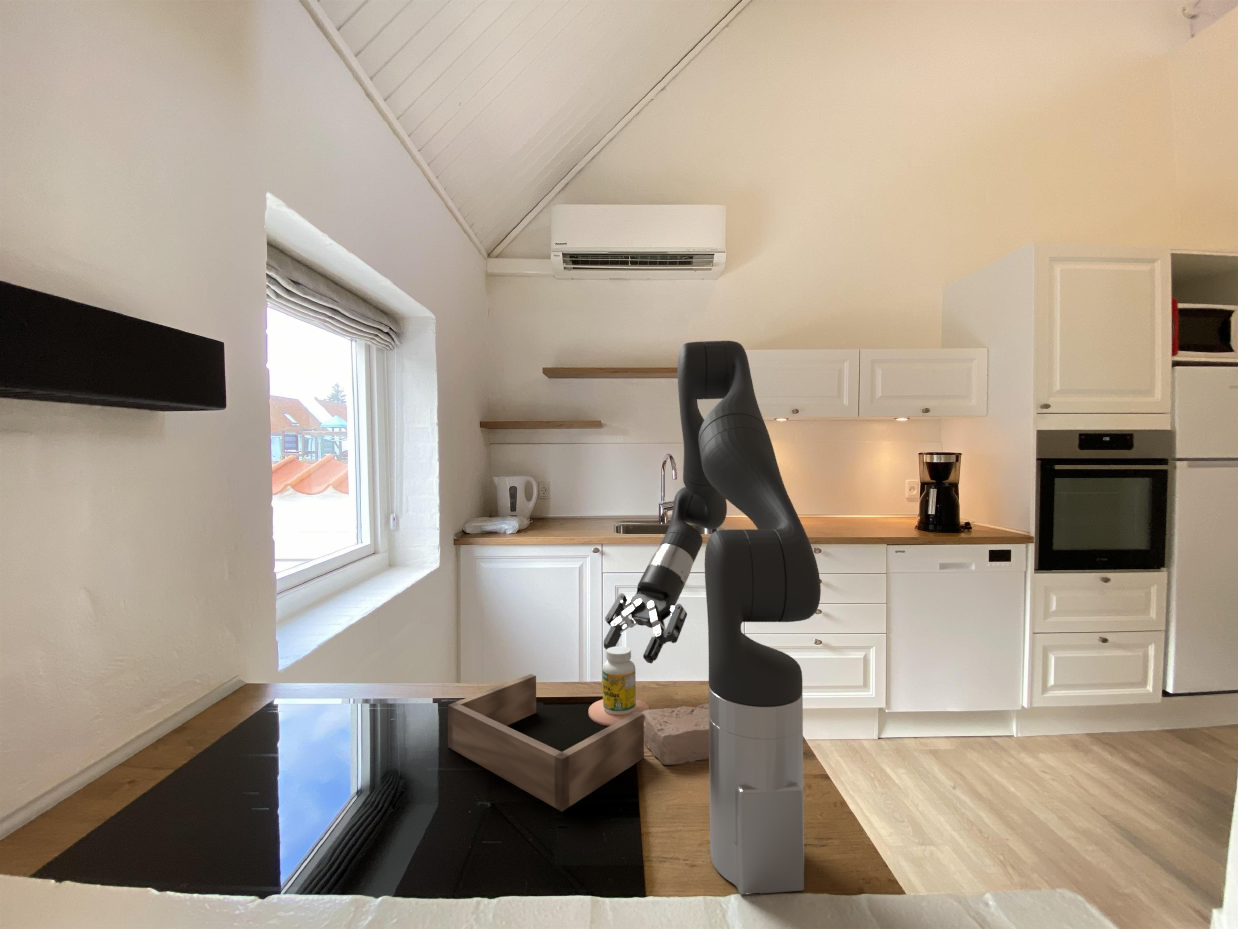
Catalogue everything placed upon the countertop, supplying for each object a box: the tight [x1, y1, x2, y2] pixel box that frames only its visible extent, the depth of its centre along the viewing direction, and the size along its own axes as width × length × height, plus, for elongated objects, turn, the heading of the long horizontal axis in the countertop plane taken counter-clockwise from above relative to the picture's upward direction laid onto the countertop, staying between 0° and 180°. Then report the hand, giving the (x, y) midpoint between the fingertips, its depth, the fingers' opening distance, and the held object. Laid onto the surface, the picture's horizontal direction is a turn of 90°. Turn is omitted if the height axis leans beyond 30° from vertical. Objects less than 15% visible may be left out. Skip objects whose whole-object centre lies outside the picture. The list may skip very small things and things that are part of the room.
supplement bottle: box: [602, 645, 637, 715], centre depth 90 cm, size 5×5×10 cm
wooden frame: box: [447, 673, 645, 812], centre depth 77 cm, size 16×23×6 cm, turn 50°
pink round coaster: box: [588, 698, 651, 727], centre depth 90 cm, size 10×10×1 cm
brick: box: [642, 702, 709, 766], centre depth 80 cm, size 17×8×5 cm, turn 110°
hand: (626, 655), depth 92 cm, fingers open, 8 cm apart
